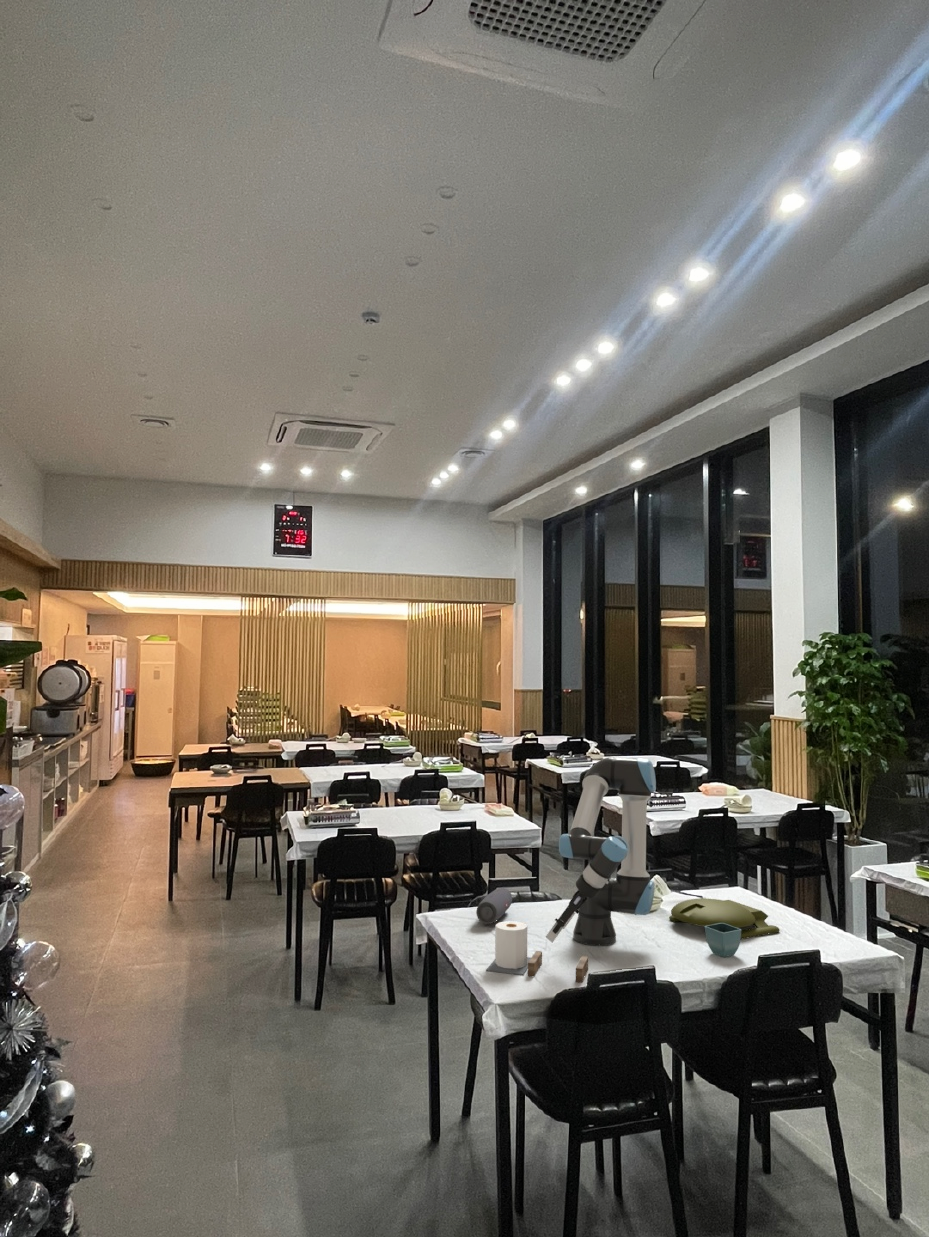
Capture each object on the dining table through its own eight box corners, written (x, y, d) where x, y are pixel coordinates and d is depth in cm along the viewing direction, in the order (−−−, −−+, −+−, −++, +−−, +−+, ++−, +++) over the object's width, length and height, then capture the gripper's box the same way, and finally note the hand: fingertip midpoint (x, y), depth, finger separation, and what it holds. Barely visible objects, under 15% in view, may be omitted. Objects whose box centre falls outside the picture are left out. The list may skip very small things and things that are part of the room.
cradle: (536, 963, 265) (536, 950, 265) (588, 969, 260) (588, 956, 260) (527, 975, 253) (527, 962, 254) (582, 982, 248) (582, 968, 249)
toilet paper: (523, 957, 269) (523, 920, 270) (529, 968, 259) (529, 929, 260) (493, 958, 268) (493, 920, 269) (498, 969, 258) (498, 930, 259)
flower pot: (723, 960, 270) (723, 932, 271) (704, 952, 278) (703, 925, 279) (742, 956, 274) (742, 929, 275) (722, 948, 282) (722, 922, 283)
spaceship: (723, 912, 329) (722, 887, 330) (782, 933, 302) (782, 906, 303) (654, 922, 314) (654, 896, 315) (710, 945, 287) (709, 917, 287)
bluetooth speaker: (498, 928, 302) (498, 901, 303) (474, 926, 305) (475, 899, 306) (513, 912, 324) (514, 887, 325) (491, 910, 327) (491, 885, 328)
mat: (499, 955, 273) (499, 953, 273) (534, 958, 269) (534, 957, 269) (486, 970, 257) (486, 969, 258) (523, 975, 254) (523, 973, 254)
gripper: (592, 900, 243) (553, 953, 247) (610, 878, 266) (574, 928, 270) (572, 883, 246) (534, 936, 249) (591, 864, 269) (556, 913, 273)
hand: (555, 932), depth 260 cm, fingers open, 13 cm apart
